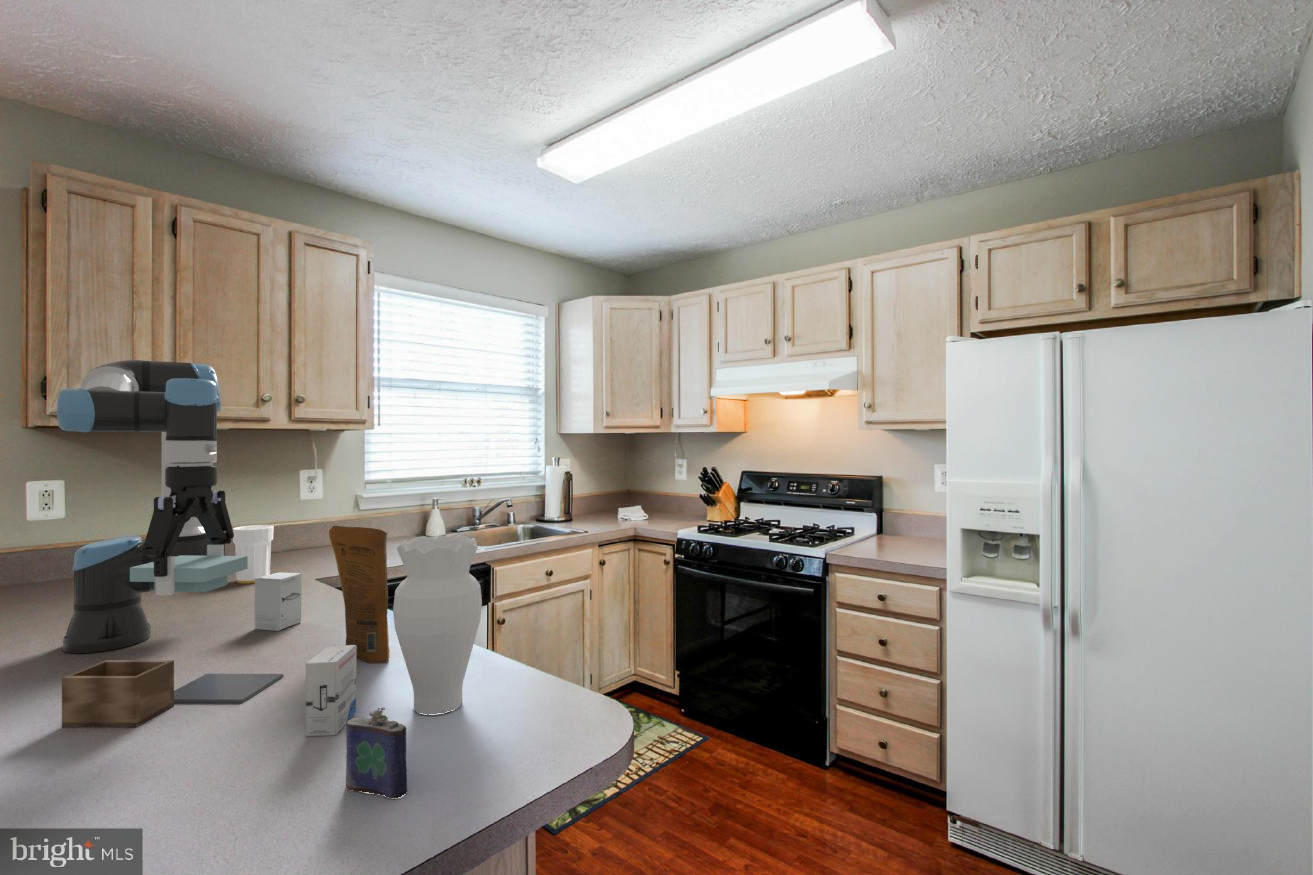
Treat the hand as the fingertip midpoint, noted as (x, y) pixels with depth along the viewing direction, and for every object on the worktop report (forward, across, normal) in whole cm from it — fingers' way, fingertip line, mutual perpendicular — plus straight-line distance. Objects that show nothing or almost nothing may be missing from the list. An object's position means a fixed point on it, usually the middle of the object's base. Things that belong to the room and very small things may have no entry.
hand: (191, 586), depth 113 cm
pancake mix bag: (+20, +22, -20) cm, 36 cm away
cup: (+20, +90, +51) cm, 106 cm away
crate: (+20, -8, +6) cm, 22 cm away
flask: (+20, -28, -48) cm, 59 cm away
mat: (+20, +4, -3) cm, 21 cm away
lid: (-2, 0, 0) cm, 2 cm away
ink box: (+20, -9, -31) cm, 38 cm away
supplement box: (+20, +42, +12) cm, 48 cm away
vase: (+20, -2, -46) cm, 50 cm away
